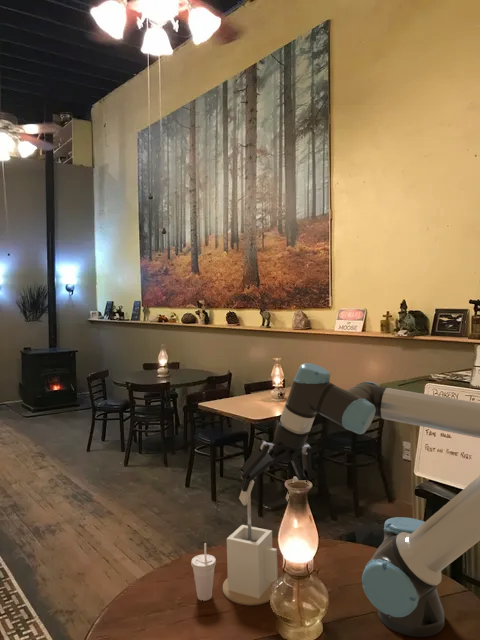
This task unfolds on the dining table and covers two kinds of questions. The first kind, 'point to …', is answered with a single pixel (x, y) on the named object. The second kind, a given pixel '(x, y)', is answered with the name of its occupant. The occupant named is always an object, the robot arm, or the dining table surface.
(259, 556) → the press
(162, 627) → the dining table surface
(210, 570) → the smoothie
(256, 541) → the plunger
